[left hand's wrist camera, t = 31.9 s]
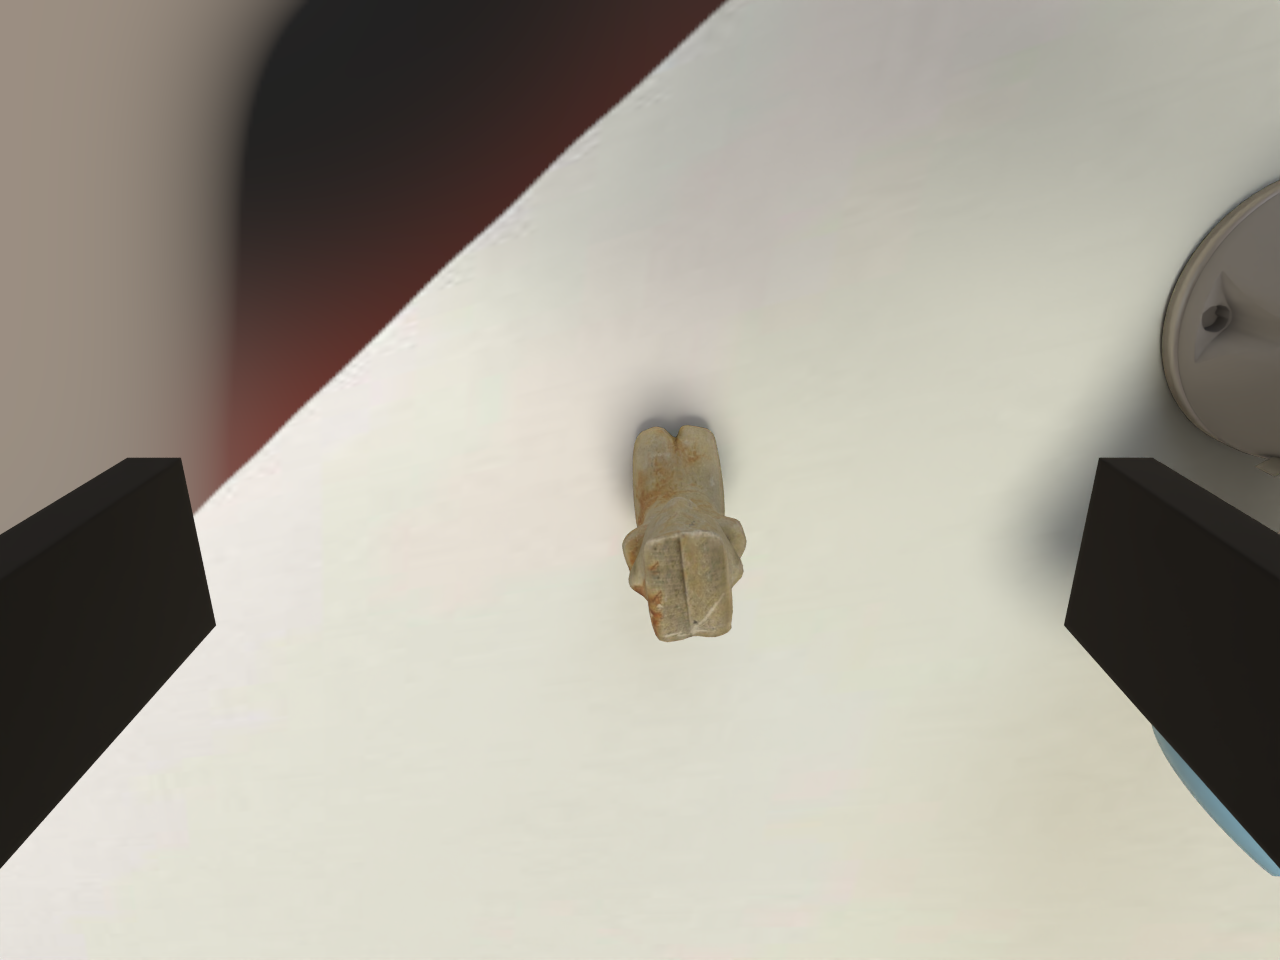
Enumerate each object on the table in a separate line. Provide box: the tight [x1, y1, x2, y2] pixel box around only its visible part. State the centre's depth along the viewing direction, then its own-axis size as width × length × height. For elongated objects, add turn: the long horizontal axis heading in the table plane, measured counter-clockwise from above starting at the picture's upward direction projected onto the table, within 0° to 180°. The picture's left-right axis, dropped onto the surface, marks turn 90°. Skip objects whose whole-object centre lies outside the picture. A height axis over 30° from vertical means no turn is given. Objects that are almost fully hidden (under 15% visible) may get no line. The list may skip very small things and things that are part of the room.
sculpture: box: [622, 425, 746, 642], centre depth 41 cm, size 6×7×15 cm
